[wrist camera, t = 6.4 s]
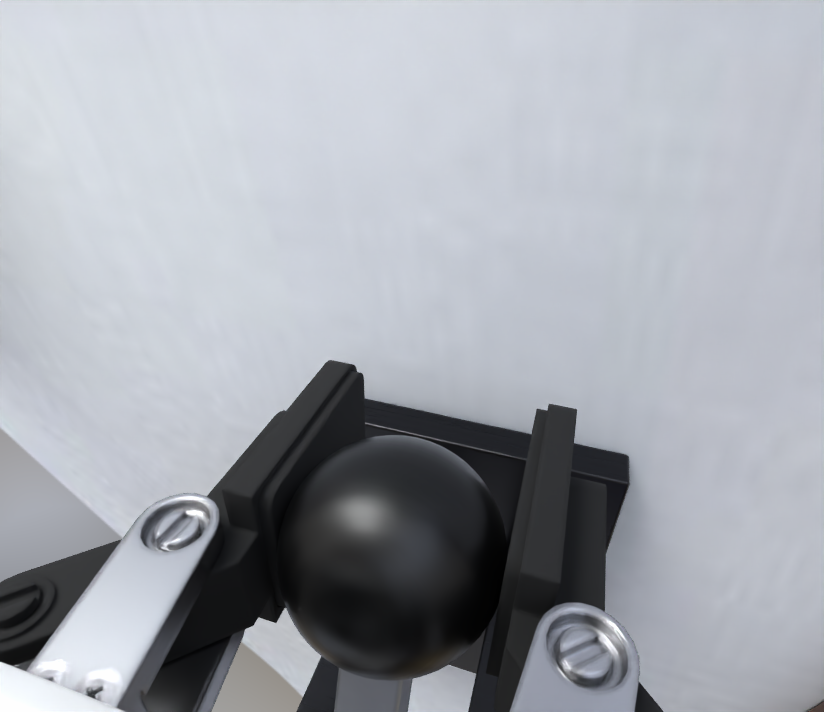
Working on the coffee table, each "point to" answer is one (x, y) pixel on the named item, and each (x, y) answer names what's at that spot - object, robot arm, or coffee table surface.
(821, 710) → the button box
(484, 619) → the switch lever
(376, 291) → the coffee table surface
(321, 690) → the switch bracket
